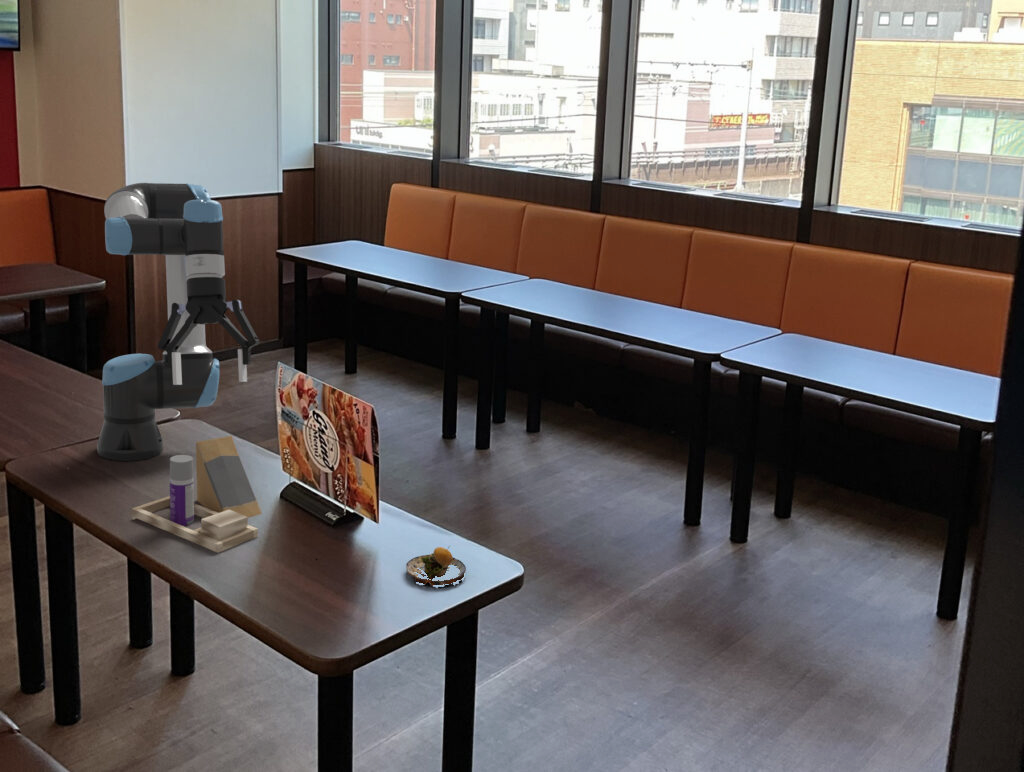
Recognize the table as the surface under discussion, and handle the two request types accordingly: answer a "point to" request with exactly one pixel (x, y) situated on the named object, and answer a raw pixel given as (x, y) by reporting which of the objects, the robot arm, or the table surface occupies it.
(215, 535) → the block
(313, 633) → the table surface
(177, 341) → the robot arm
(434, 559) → the plate of food
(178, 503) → the container
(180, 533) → the frame
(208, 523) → the offcut top
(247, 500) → the sandwich container
